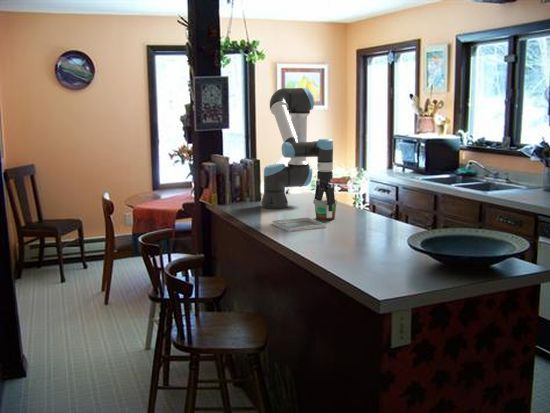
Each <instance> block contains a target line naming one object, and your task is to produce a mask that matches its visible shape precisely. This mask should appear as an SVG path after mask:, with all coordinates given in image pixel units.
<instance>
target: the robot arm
mask: <svg viewBox="0 0 550 413" xmlns="http://www.w3.org/2000/svg"><path fill="white" fill-rule="evenodd" d="M314 107H315V98H314V95H313V92H312V91H311V89H309V88H306V87H305V88H304V87H295V88H294V87H292V88H291V87H283V88H280V89H278V90H276V91H275V92H273V94H272V96H271V98H270V100H269V110H270V112H271V114H272V115H274V119H275V122H276V124H277V127H278V130H279V133H280V136H281V138H282V142H283V143H282V145H281V155H282V156H283V158H289V159H290V160H289V161H288V162H287V166H286V165H285V164H284V163H273V164H269V165H266V166H265V167H264V169H263V194H262V198H261V201H260V207H261V208H264V209H269V210H270V209H273V210H274V209H275V210H276V209H285V208H288V207H289V201H288V198H287V195H286V188H294V187H295V188H296V187H300V188H302V187H307V186H309V185H310V183H311V182H312V178H313V168H312V166H311V165H310V164H309V161H308V160H307V158H315V157H316V159H317V165H316V166H317V168H316V169H317V173H316V176H317V179H318V180H315V192H314V198H315V200H323V196H324V194H325V198H326V200H327V204H326V205H327V217H326V218H332V205H333V204H335V200H336V199H335V198H336V197H335V196H336V195H335V183H332V182H331V180H332V179H333V177H334V176H333V170H334V169H333V168H334V167H333V166H334V157H333V156H334V140H333V139H330V138H319V139H318V140H317V141H316V140H315V141H307V138H308V136H307V129H308V116H309V115H310V114H311V111H312V110H314Z"/></svg>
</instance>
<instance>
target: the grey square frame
mask: <svg viewBox="0 0 550 413" xmlns="http://www.w3.org/2000/svg"><path fill="white" fill-rule="evenodd" d="M300 222H309V223H312V224H311V225H310V224H309V225H302V226H291V227H289V226H286V225H285V224H290V223H300ZM271 225H273V226H275V227H277V228H280V229H281V230H284V231H286V232H295V231H296V232H297V231H304V230H305V231H306V230H313V229H316V230H317V229H323V228H327V223H324V222H321V221H320V220H317V219H313V218H311V217H309V216H308V217H300V218H299V217H298V218H287V219H278V220H271Z"/></svg>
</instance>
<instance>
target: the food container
mask: <svg viewBox="0 0 550 413" xmlns="http://www.w3.org/2000/svg"><path fill="white" fill-rule="evenodd" d="M312 203H313V205H314V211H315V212H314V213H315V220H317V221H326V222H327V221H333V220H335V219H336V211H337V204H338V200H337V198H336V199H335V204H333V205H332V218H326V217H327V205H326V204H327V199H322V200H316V199H315V197H314V198H313V201H312Z"/></svg>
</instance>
